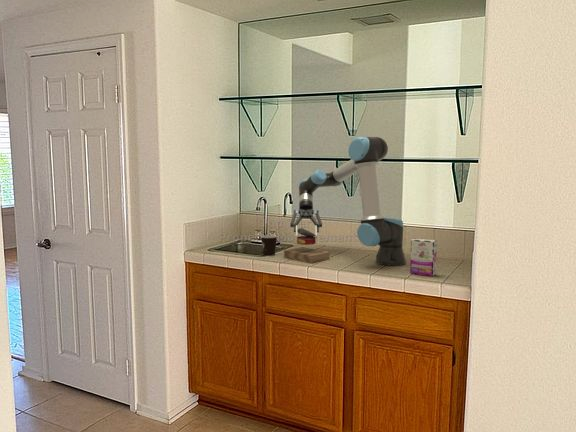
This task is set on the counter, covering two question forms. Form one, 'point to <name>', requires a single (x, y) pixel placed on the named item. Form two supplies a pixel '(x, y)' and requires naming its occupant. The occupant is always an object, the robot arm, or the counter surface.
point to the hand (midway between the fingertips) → (306, 236)
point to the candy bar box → (423, 257)
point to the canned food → (305, 237)
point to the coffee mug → (269, 245)
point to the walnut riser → (306, 255)
